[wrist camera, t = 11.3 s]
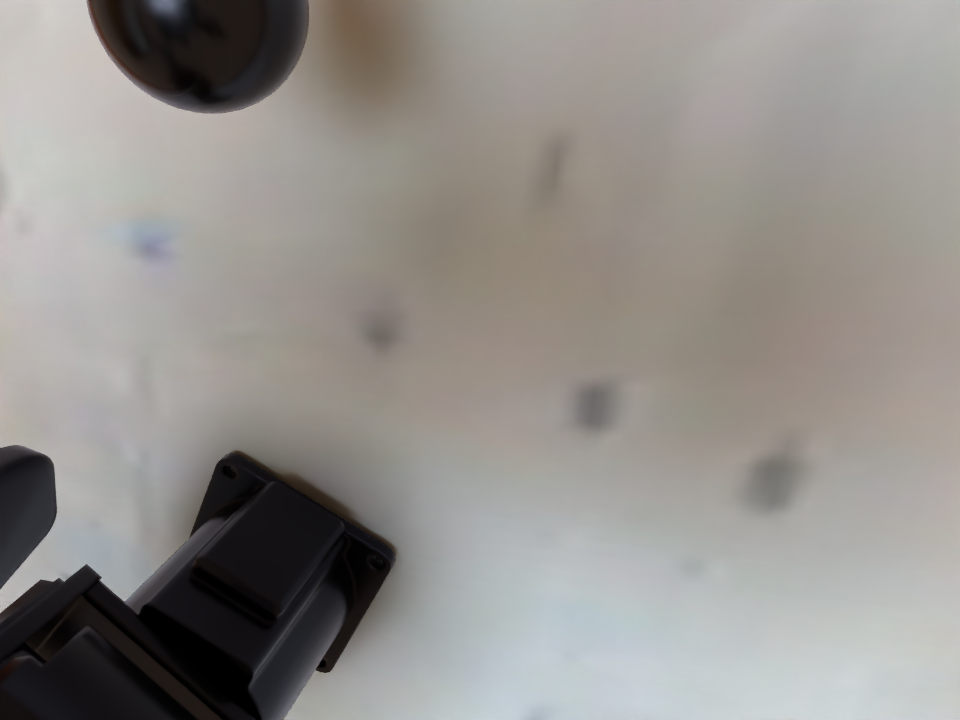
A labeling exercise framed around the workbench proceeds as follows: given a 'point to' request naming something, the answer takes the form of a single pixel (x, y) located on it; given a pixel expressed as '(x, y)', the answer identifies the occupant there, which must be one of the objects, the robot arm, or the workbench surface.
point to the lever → (203, 48)
